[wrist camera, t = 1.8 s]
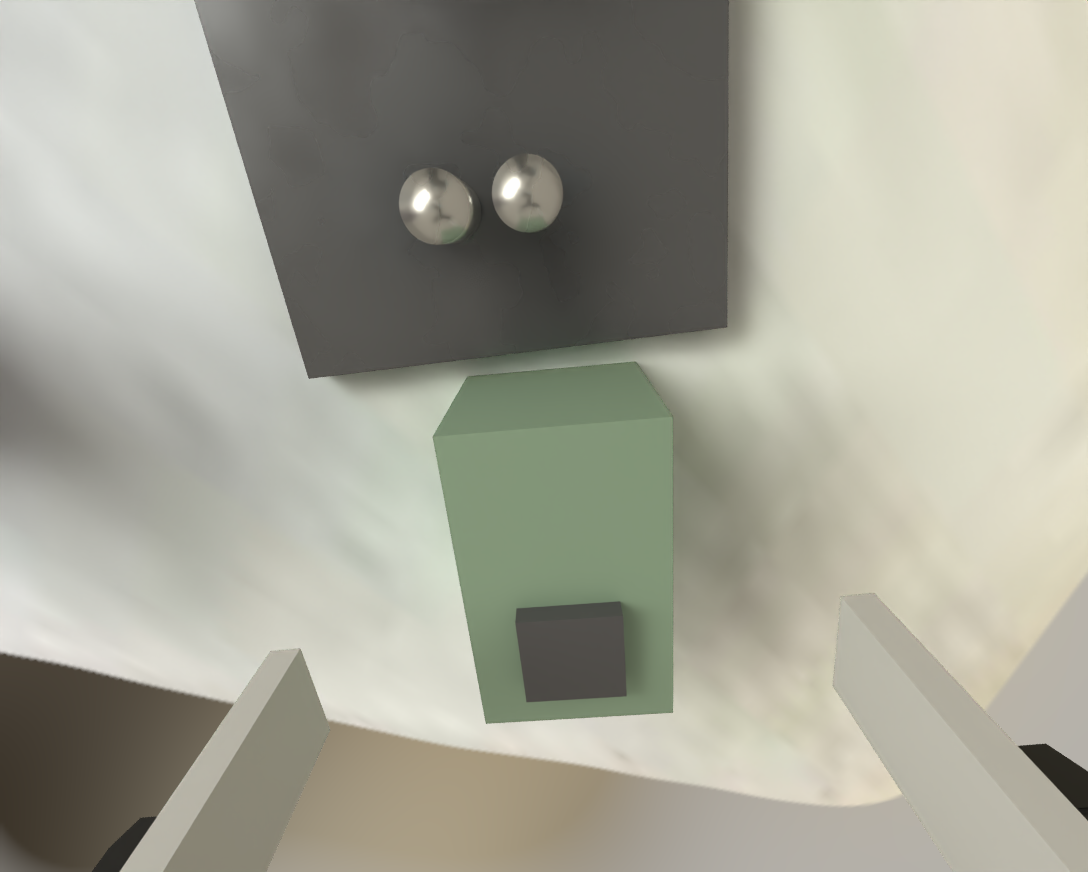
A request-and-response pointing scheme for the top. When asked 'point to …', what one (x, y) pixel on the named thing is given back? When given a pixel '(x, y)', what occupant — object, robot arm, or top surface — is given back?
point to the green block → (563, 539)
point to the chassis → (482, 170)
